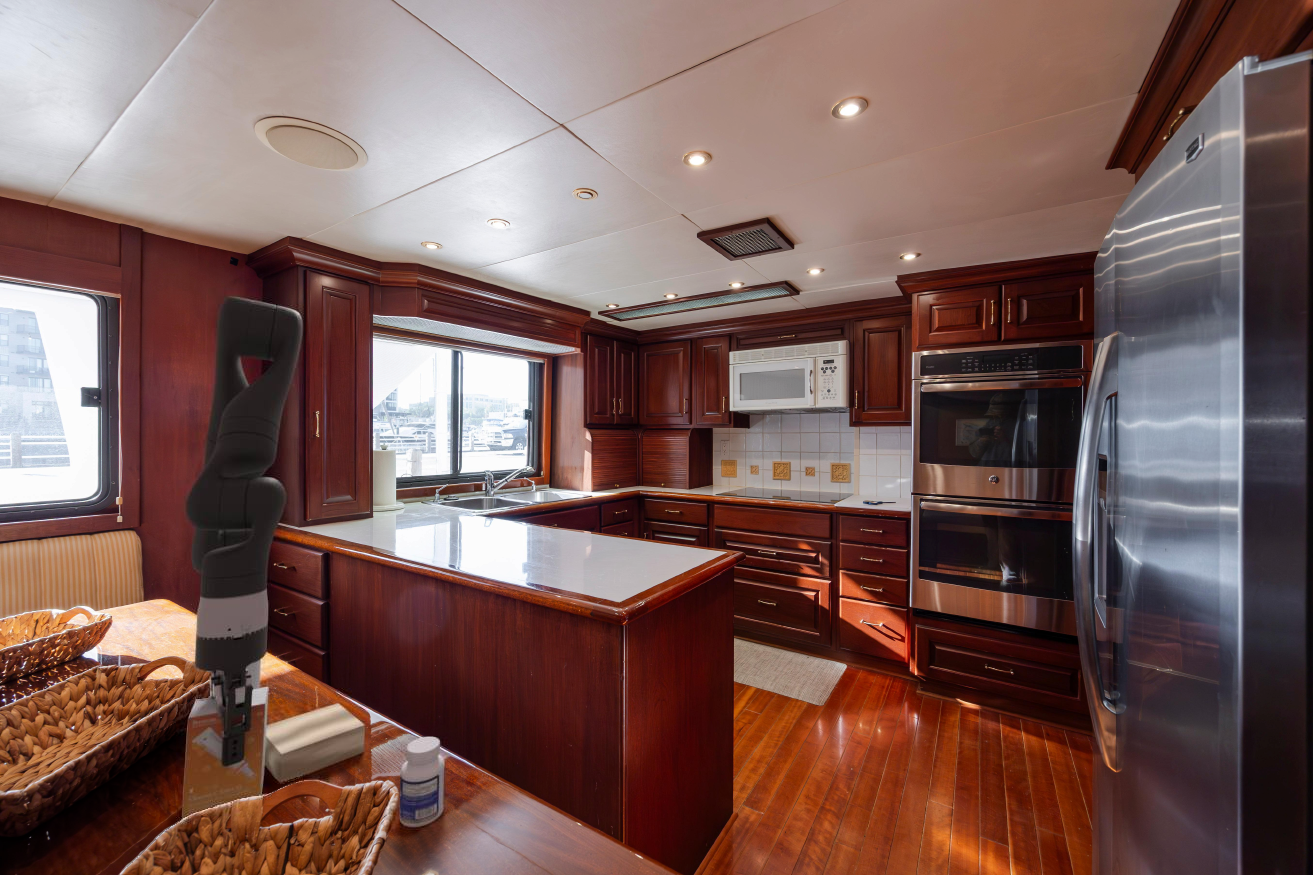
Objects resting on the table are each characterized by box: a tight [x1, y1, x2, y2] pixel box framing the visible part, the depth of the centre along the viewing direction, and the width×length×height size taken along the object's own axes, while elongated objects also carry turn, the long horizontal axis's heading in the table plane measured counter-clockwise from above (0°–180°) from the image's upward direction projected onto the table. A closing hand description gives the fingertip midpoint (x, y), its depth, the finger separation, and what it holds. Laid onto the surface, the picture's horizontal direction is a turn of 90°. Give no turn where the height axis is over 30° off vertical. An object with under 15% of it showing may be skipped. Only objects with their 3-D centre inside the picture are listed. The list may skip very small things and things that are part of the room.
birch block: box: [265, 702, 366, 783], centre depth 82 cm, size 11×11×4 cm
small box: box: [181, 686, 270, 820], centre depth 71 cm, size 8×6×13 cm
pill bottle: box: [398, 736, 446, 828], centre depth 69 cm, size 5×5×9 cm
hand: (227, 751), depth 71 cm, fingers closed on small box, 7 cm apart
